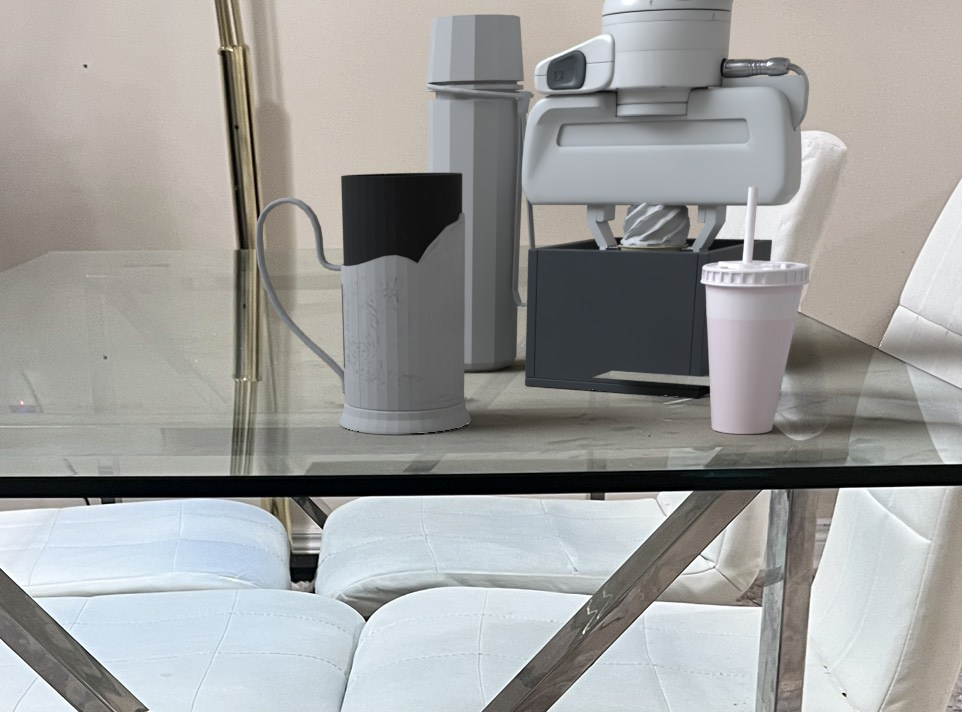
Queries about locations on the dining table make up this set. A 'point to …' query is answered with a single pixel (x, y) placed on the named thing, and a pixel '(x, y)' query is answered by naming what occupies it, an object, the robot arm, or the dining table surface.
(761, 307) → the smoothie
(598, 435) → the dining table surface
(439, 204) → the glass holder
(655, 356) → the open storage box
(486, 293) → the water bottle
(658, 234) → the ice cream cone
